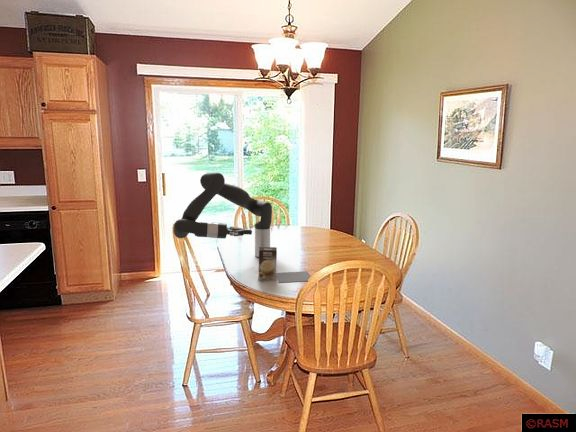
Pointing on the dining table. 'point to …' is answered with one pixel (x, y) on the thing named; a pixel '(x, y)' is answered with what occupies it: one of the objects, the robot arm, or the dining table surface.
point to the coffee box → (267, 263)
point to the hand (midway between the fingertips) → (251, 232)
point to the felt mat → (292, 276)
